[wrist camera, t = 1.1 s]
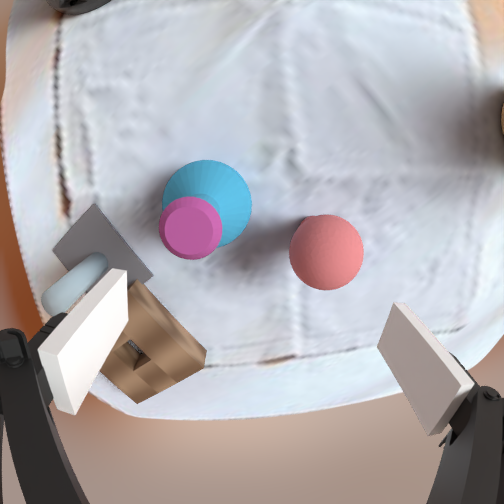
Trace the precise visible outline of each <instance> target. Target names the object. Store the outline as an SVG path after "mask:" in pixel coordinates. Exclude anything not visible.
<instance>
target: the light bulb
mask: <svg viewBox="0 0 504 504" xmlns="http://www.w3.org/2000/svg"><path fill="white" fill-rule="evenodd" d="M289 258H290V262H291V265H292V268H293V270H294V272H295V273H296V275H297V276H298V277H299V278H300V280H301V281H303V282H304V283H305V284H307V285H309V286H310V287H313V288H316V289H319V290H333V289H337V288H340V287H342V286H344V285H346V284H348V283H349V282H350V281H351V280H352V279H353V278H354V277H355V276H356V274H357V273H358V272H359V269H360V267H361V265H362V261H363V244H362V240H361V237H360V235H359V234H358V232H357V230H356V229H355V228H354V227H353V226H352V225H351V224H350V223H349V222H348V221H346V220H344V219H342V218H340V217H338V216H334V215H319V216H310V217H307V218H306V219H304V220H303V221H302V222H301V224H300V226H299V227H298V229H297V230H296V232H295V233H294V235H293V237H292V239H291V243H290V247H289Z"/></svg>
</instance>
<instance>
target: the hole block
mask: <svg viewBox="0 0 504 504" xmlns="http://www.w3.org/2000/svg"><path fill="white" fill-rule="evenodd" d="M127 302H128V322H127V324H126V326H125V327H124V329H123V331H122V332H121V334H120V336H119V337H118V339H117V341H116V342H115V344H114V346H113V348H112V349H111V351H110V353H109V355H108V356H107V358H106V360H105V362H104V363H103V365H102V367H101V369H100V370H99V371H100V372H101V373H102V374H103V375H105V376H106V377H107V378H108V379H109V380H110V381H111V382H112V383H113V384H114V385H116V386H117V387H118V388H119V389H120V390H121V391H122V392H124V393H125V394H126V395H127V396H128V397H129V398H131V399H132V400H133V401H134V402H135V403H137V404H138V403H140V402H142V401H144V400H146V399H148V398H150V397H152V396H154V395H156V394H158V393H159V392H161V391H163V390H165V389H167V388H169V387H171V386H173V385H174V384H176V383H178V382H180V381H182V380H184V379H185V378H187V377H189V376H191V375H193V374H194V373H196V372H198V371H200V370H201V369H203V368H204V364H205V357H206V352H207V350H206V349H205V348H204V347H203V346H202V345H201V344H200V343H199V342H198V341H197V340H196V339H195V338H194V337H193V336H192V335H191V334H190V333H189V332H188V331H187V330H186V329H185V328H184V327H183V326H182V325H181V324H180V323H179V322H178V321H177V320H176V319H175V318H174V317H173V316H172V315H171V314H170V313H169V311H168V310H167V309H166V308H165V307H164V306H163V305H162V304H161V303H160V302H159V301H158V300H157V298H156V297H155V296H154V295H153V294H152V293H151V292H150V291H149V290H148V288H147V287H146V286H145V285H144V284H143V285H142V284H141V283H140V282H139V280H138V279H137V280H135V281H134V282H133V283H132V284H131V285H129V286H128V287H127ZM130 339H131V340H132V341H133V342H134V343H135V344H136V345H137V346H138V347H139V348H140V349H141V350H142V351H143V352H144V353H142V354H141V355H140V354H139V353H138V352H137V351H136V350H135V349H134V348H133V347H132V346H131V345H130V344H129V343H128V342H127V341H129V340H130Z"/></svg>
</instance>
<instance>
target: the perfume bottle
mask: <svg viewBox="0 0 504 504" xmlns="http://www.w3.org/2000/svg"><path fill="white" fill-rule="evenodd" d="M251 207H252V201H251V195H250V192H249V189H248V186H247V184H246V183H245V181H244V179H243V178H242V177H241V176H240V174H239V173H238V172H237V171H235V170H234V169H233V168H231V167H230V166H228V165H226V164H224V163H221V162H217V161H213V160H201V161H195V162H192V163H190V164H187V165H185V166H184V167H182V168H181V169H179V170H178V171H177V172H176V173H175V174H174V175H173V176H172V177H171V179H170V180H169V182H168V183H167V185H166V188H165V190H164V194H163V199H162V209H163V213H162V215H161V217H160V221H159V233H160V237H161V240H162V242H163V244H164V245H165V247H166V248H167V249H168V250H169V251H170V252H171V253H173V254H174V255H176V256H178V257H180V258H184V259H190V260H194V259H200V258H203V257H205V256H207V255H209V254H210V253H211V252H213V251H214V250H215V248H218V247H221V246H224V245H227V244H228V243H230V242H232V241H233V240H235V239H236V238H237V237H238V236H239V235H240V234H241V233H242V231H243V230H244V229H245V227H246V225H247V223H248V221H249V218H250V214H251Z"/></svg>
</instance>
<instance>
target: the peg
mask: <svg viewBox="0 0 504 504" xmlns="http://www.w3.org/2000/svg"><path fill="white" fill-rule="evenodd" d="M107 269H108V260H107V258H106V257H105V255H103V254H102V253H100V252H94V253H92V254H91V255H90V256H88V257H87V258H86V259H84V260H83V261H82V262H81V263H79V264H78V265H77V266H75V267H74V268H73V269H72V270H70V271H69V272H68V273H67V274H65V275H64V276H63V277H62V278H61V279H59V280H58V281H57V282H56V283H54V284H53V285H52V286H51V287H50V288H48V289H47V290H46V291H45V292H44V293H43V294H42V297H41V302H42V305H43V307H44V309H45V310H46V312H47V313H48V314H49V315H51V316H55V315H57V314H59V313H61V312H63V313H65V312H66V311H67V310H68V309H69V308H70V307H71V306H72V305H73V304H74V303H75V302H76V300H77V299H78V298H79V297H80V296H81V295H82V294H83V293H84V292H85V291H86V290H87V289H88V288H89V287H90V286H91V285H92V284H93V283H94V282H95V281H96V280H97V279H98V278H99V277H100V276H101V275H102V274H103V273H104V272H106V270H107Z"/></svg>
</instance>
